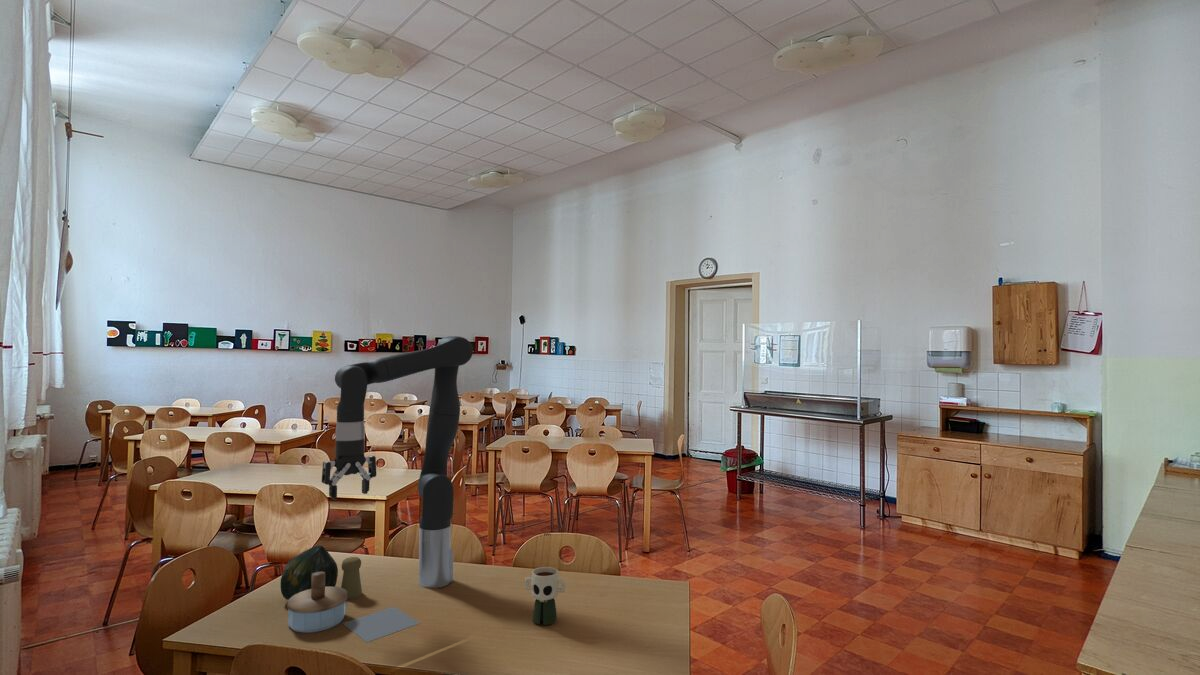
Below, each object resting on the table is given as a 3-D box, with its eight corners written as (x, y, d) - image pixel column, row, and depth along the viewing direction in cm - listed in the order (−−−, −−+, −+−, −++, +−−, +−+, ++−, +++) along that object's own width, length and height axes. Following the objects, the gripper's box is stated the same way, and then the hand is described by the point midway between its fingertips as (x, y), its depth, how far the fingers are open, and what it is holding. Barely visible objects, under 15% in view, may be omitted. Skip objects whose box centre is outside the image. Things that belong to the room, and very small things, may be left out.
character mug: (520, 625, 152) (520, 574, 152) (528, 613, 159) (529, 565, 159) (561, 629, 150) (561, 578, 150) (568, 617, 157) (568, 568, 157)
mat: (394, 608, 162) (394, 606, 162) (420, 625, 152) (420, 623, 152) (342, 625, 152) (342, 623, 152) (366, 644, 142) (366, 642, 142)
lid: (334, 585, 163) (334, 560, 163) (356, 601, 153) (356, 573, 153) (279, 601, 153) (279, 573, 153) (299, 618, 143) (299, 589, 143)
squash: (261, 580, 167) (289, 545, 164) (306, 565, 180) (332, 531, 177) (287, 622, 162) (316, 585, 159) (331, 602, 176) (358, 569, 173)
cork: (354, 602, 166) (354, 562, 166) (334, 600, 167) (335, 561, 167) (366, 593, 172) (367, 555, 172) (348, 591, 173) (348, 553, 173)
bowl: (332, 607, 162) (333, 587, 162) (353, 623, 153) (353, 601, 153) (281, 623, 153) (281, 601, 153) (299, 640, 144) (300, 617, 144)
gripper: (369, 433, 172) (368, 489, 172) (318, 438, 162) (317, 498, 162) (381, 436, 167) (380, 494, 167) (329, 441, 157) (328, 503, 156)
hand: (349, 496), depth 164 cm, fingers open, 8 cm apart
